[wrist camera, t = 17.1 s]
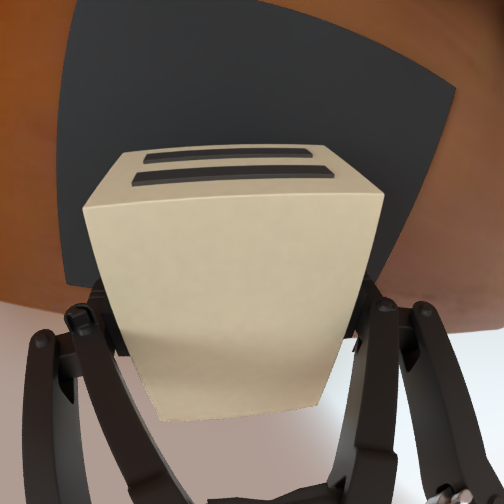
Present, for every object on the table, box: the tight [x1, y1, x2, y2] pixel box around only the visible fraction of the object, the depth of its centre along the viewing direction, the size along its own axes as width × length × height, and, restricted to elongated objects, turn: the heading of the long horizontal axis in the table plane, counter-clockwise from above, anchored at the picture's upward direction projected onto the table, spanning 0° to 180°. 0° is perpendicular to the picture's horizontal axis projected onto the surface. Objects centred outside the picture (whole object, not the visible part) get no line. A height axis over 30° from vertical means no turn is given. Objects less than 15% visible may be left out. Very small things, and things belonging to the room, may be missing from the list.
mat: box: [56, 0, 456, 288], centre depth 18 cm, size 24×20×1 cm
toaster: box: [83, 144, 384, 422], centre depth 14 cm, size 10×6×13 cm
